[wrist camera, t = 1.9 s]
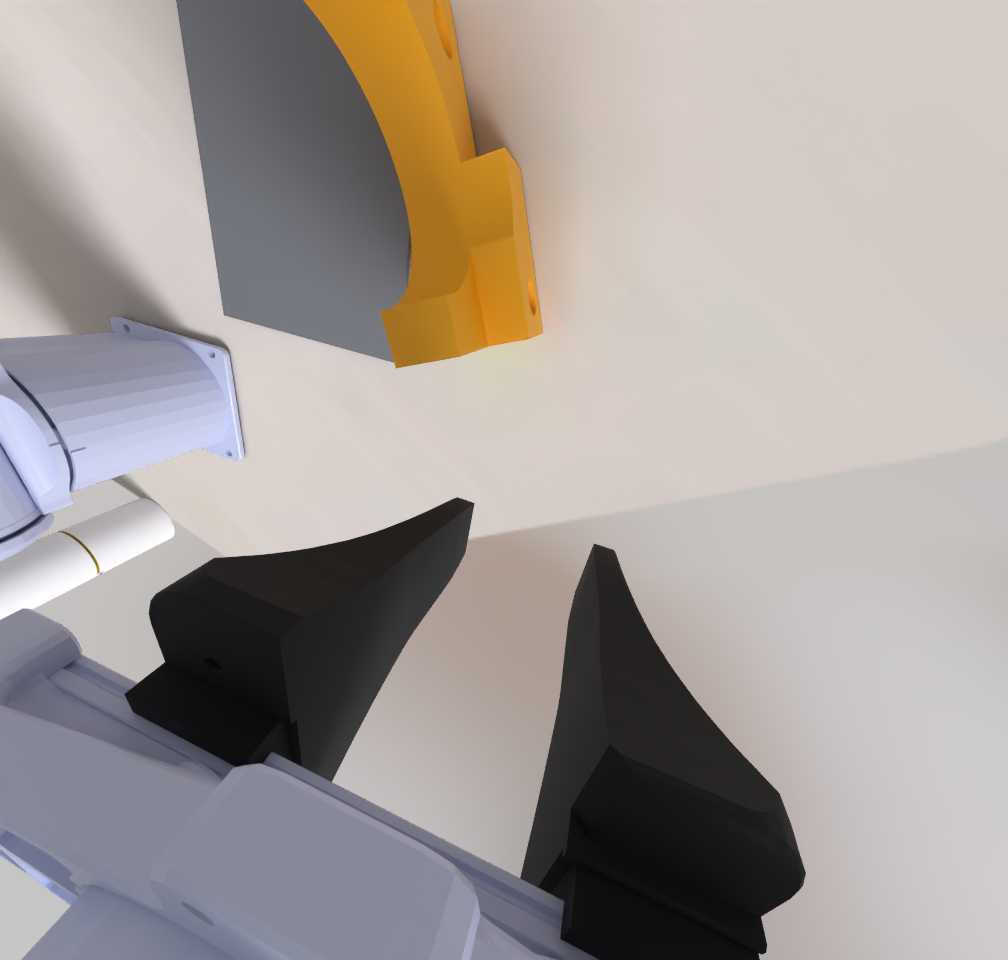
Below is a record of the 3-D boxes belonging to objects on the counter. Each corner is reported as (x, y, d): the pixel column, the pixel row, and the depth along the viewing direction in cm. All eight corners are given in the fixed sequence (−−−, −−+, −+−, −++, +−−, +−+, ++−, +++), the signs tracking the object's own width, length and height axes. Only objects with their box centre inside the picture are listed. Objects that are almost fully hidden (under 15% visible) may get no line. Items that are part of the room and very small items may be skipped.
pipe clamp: (542, 332, 18) (508, 347, 12) (460, 348, 19) (396, 368, 14) (493, -22, 13) (404, -255, 8) (390, 31, 15) (251, -133, 9)
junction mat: (227, 315, 23) (223, 315, 23) (165, -105, 15) (159, -110, 15) (402, 364, 21) (400, 364, 21) (431, -93, 13) (428, -99, 13)
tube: (139, 489, 33) (-178, 609, 20) (178, 521, 33) (-109, 660, 20) (133, 516, 35) (-157, 641, 22) (170, 546, 35) (-95, 687, 23)
